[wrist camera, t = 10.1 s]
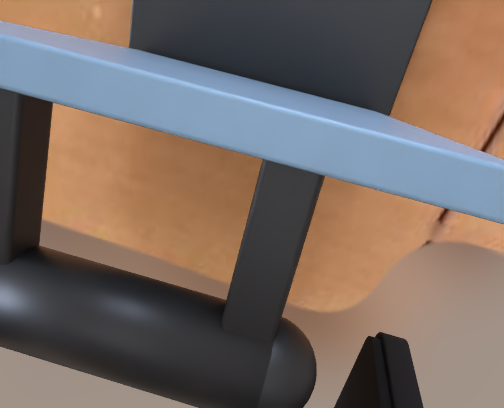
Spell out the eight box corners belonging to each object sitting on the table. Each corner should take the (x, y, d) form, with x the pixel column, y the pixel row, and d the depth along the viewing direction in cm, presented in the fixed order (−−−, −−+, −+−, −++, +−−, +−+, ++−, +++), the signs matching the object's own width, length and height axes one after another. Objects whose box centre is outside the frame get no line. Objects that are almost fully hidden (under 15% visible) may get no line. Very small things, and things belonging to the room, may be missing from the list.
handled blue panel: (-250, -34, 5) (-212, 318, 6) (552, 177, 4) (392, 508, 6) (136, 49, 15) (118, 171, 17) (377, 111, 15) (337, 232, 16)
